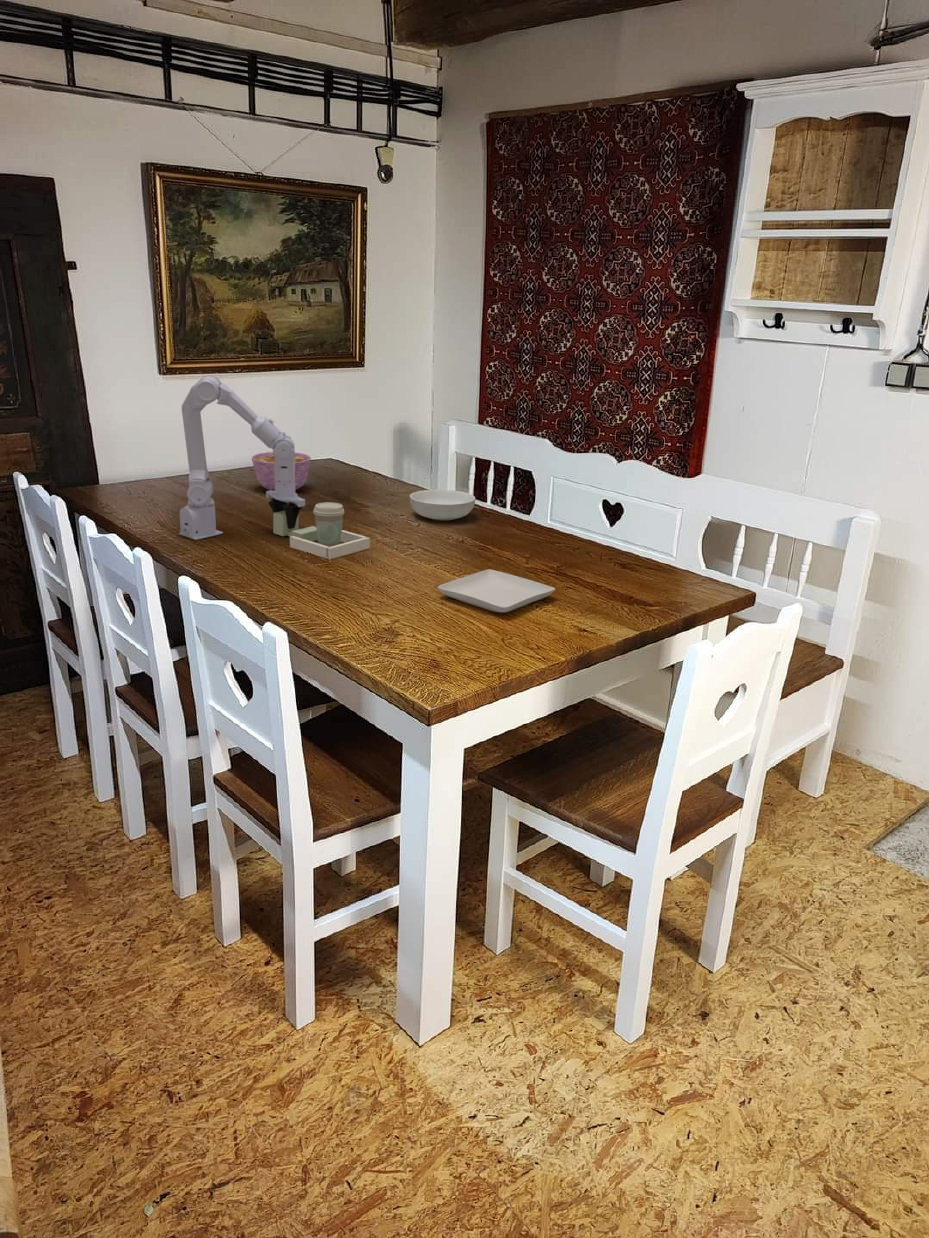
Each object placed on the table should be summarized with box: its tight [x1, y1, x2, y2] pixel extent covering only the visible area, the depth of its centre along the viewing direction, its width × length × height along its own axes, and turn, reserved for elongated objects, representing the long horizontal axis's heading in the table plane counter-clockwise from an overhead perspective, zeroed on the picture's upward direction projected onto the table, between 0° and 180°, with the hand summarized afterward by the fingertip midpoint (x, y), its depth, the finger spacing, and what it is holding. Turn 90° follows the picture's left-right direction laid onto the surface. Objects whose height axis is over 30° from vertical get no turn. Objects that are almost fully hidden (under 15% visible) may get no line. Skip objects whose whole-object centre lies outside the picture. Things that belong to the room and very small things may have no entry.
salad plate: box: [437, 569, 556, 614], centre depth 219 cm, size 21×21×3 cm
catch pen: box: [289, 529, 371, 560], centre depth 252 cm, size 15×16×3 cm
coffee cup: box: [312, 501, 345, 547], centre depth 251 cm, size 8×8×12 cm
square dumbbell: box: [272, 511, 318, 542], centre depth 259 cm, size 8×13×6 cm, turn 51°
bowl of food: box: [251, 451, 312, 491], centre depth 311 cm, size 20×20×12 cm
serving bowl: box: [409, 489, 476, 522], centre depth 288 cm, size 21×21×7 cm
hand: (286, 526), depth 262 cm, fingers closed on square dumbbell, 4 cm apart
